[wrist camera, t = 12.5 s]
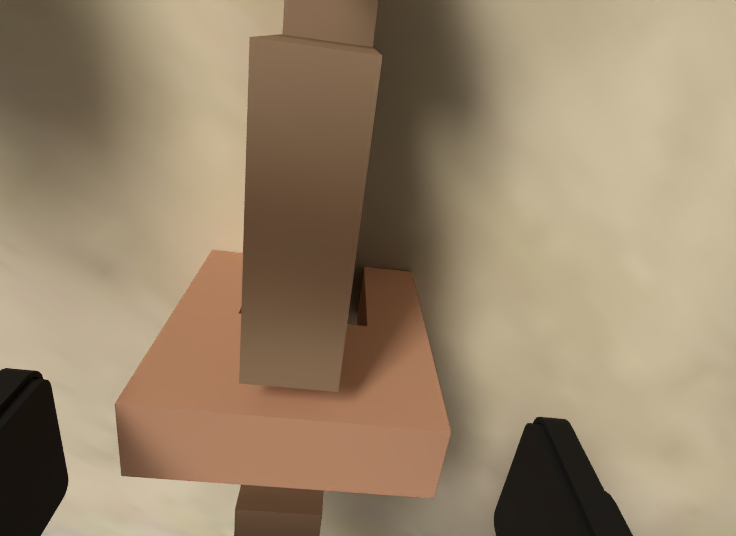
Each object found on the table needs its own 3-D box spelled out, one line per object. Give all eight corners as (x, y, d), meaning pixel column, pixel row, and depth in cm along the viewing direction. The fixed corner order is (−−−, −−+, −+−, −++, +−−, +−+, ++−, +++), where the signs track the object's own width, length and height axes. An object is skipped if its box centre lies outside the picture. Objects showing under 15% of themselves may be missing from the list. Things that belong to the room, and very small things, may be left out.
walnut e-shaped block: (317, -227, 12) (268, -581, 5) (398, -212, 13) (460, -536, 5) (276, 374, 20) (233, 572, 13) (327, 379, 20) (313, 576, 13)
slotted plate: (212, 250, 18) (114, 404, 10) (411, 271, 18) (451, 432, 11) (211, 300, 18) (121, 476, 11) (402, 320, 19) (433, 498, 12)
